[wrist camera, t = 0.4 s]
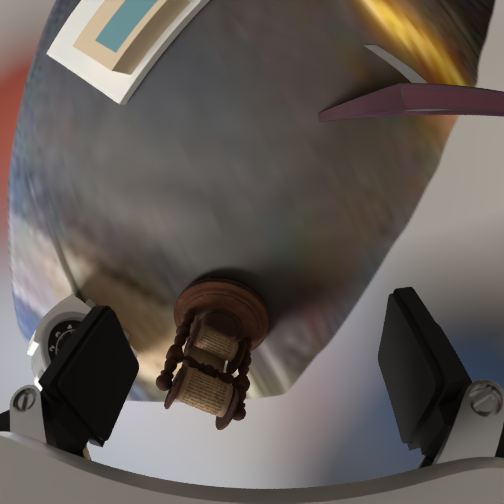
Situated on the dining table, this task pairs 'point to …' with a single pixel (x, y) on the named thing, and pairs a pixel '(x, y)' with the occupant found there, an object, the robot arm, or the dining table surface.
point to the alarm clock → (57, 333)
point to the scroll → (214, 347)
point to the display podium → (97, 74)
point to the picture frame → (417, 98)
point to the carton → (126, 31)
